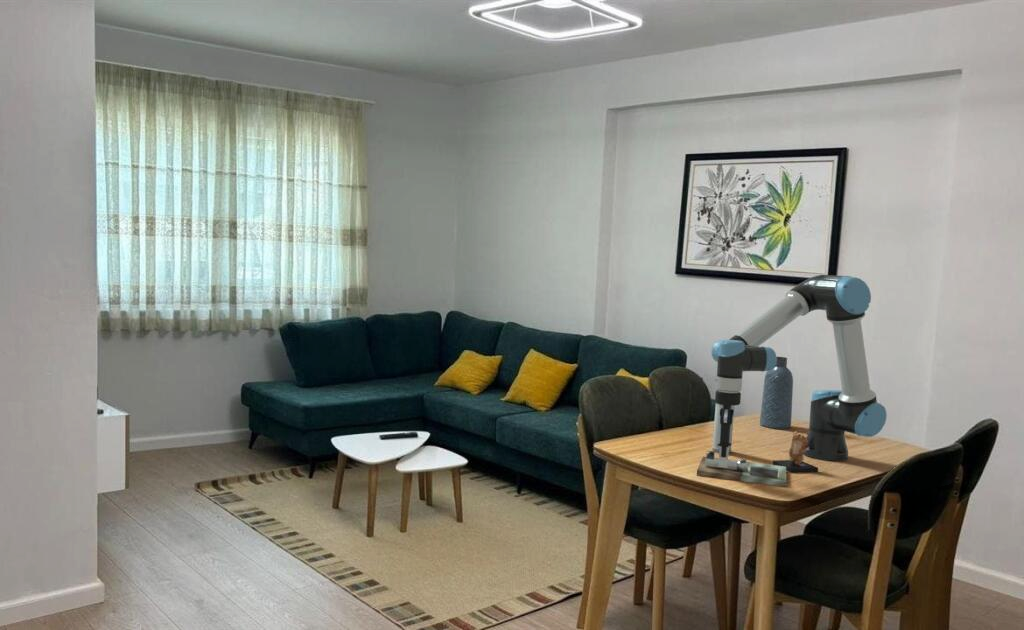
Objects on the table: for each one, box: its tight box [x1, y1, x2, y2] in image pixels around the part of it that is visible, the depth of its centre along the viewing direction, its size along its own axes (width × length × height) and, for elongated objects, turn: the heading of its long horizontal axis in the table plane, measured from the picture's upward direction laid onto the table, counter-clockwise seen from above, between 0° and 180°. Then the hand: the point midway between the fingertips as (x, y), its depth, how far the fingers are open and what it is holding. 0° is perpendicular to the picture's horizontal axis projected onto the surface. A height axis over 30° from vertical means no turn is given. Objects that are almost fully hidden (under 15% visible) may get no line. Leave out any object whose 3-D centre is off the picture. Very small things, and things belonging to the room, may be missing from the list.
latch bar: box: [705, 450, 750, 471], centre depth 262 cm, size 13×4×4 cm, turn 72°
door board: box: [696, 456, 787, 488], centre depth 264 cm, size 26×20×4 cm
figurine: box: [772, 430, 819, 474], centre depth 274 cm, size 10×10×12 cm
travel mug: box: [711, 402, 735, 454], centre depth 292 cm, size 6×7×20 cm
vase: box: [759, 356, 794, 430], centre depth 343 cm, size 12×12×28 cm
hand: (722, 466), depth 259 cm, fingers closed
